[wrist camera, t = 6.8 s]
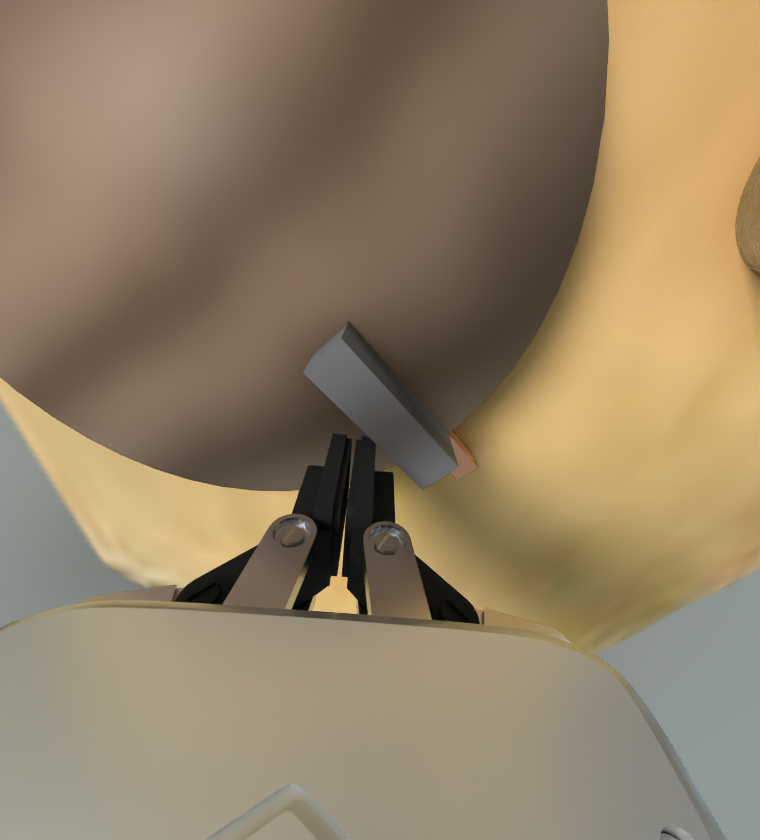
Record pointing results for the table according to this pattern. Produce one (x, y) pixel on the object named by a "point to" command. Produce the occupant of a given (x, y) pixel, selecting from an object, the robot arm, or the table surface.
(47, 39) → the turntable
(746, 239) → the aluminium cover
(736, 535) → the table surface
